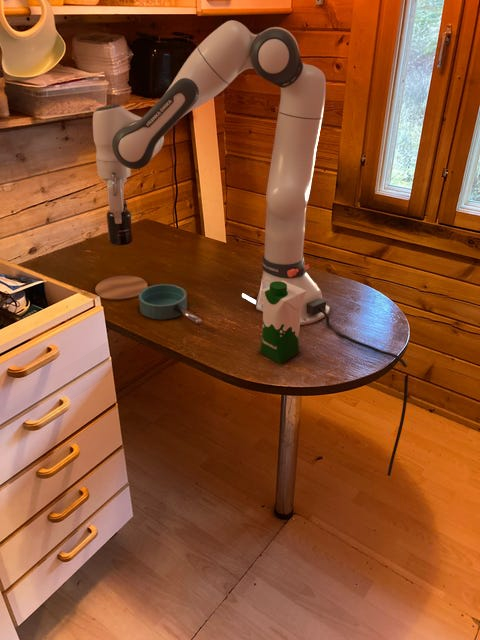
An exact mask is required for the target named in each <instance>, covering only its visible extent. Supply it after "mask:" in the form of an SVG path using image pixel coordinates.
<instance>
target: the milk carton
mask: <svg viewBox="0 0 480 640" xmlns="http://www.w3.org/2000/svg"><path fill="white" fill-rule="evenodd" d="M261 293H262V299H263V312H262V329H261V341H260V349H259V350H260V351H259V353H260V354H262V355H263V356H265V357H267V358H269V359H271V360H272V361H274V362H275V363H278V364H280V365H282V364H283V363H285V362H286V361H288V360H290V359H291V358H294V357H295V356H297V355H299V354H300V339H299V338H300V326H301V325H300V317H301V307H302V304H303V300H304V297H305V293H306V290H303V289H301V288H299V287H296V286H294V285H292V284H290V283H287V282H285V281H281V282H280V281H275V282H272V283H271V284H270V286H269V287H266V288H264V289H262V290H261Z"/></svg>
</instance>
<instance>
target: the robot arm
mask: <svg viewBox="0 0 480 640" xmlns="http://www.w3.org/2000/svg"><path fill="white" fill-rule="evenodd" d="M250 69H252V70H254V72H255V73H256V74H257V75H258V76H259V77H260V78H262V79H263V80H265V81H266V82H269V83H271V84H273V85H275V86H277V87H279V89H280V100H279V107H278V113H277V120H276V127H275V133H274V140H273V147H272V152H271V159H270V166H269V167H270V168H269V173H268V180H267V185H266V192H265V201H266V212H265V228H264V229H265V230H264V248H263V249H264V252H263V255H262V260H261V268H262V275H261V281H260V285H259V291H258V294H257V296H256V299H254V298H252V297H250V296H249V295H247V294H245V293H242V294H241V297H242V298H243V299H246V300H247V301H248V302H250V303H252V304H254V305H255V306H256V307H255V309H256V310H258V311H260V312H262V313H263V299H262V293H261V290H262V289H264V288H266V287H269V286H270V284H271V283H272V282H275V281H280V282H281V281H285V282H287V283H290V284H292V285H294V286H296V287H299V288H301V289H303V290H306V293H305V297H304V300H303V304H302V307H301V317H300V326H304V325H308V324H313V323H316V322H318V321H320V320H322V319H323V318H325V324H326V325H327V327H328V328H329V329H331V330H332V331H333V332H334V333H335V334H336V335H337V336H339V337H341V338H344V339H345V340H347V341H349V342H351V343H353V344H356V345H359V346H361V347H364V348H366V349H368V350H372V351H374V352H376V353H379V354H382V355H384V356H387V357H388V356H389V357H391V358H395V359H396V360H398V362H400V363H401V365H402V367H404V368H408V365H407V363H406V362H405V361H404V359H402V357H400V356H399V355H397V354H395V353H393V352H389V351H385V350H382V349H380V348H377V347H374V346H372V345H370V344H367V343H364V342H362V341H358V340H356V339H354V338H352V337H350V336H348V335H347V334H344V333H341V332H340V331H338V330H336V329H335V328H334V327H333V326H332V325H331V323H330V317H329V315H328V314H329V313H330V307H329V305H327V301H326V300H325V299H323V293H322V290H321V289H320V288H319V286H318V284H317V282H315V281H314V279H312V278H311V276H310V274H309V273H308V272H307V269H309V268H310V263H308V264H306V261H305V258H304V246H305V234H306V233H305V232H306V216H307V215H306V213H307V205H308V203H309V198H310V195H311V194H310V193H311V187H312V180H313V175H314V169H315V168H314V167H315V162H316V153H317V150H318V149H317V147H318V143H319V137H320V132H321V127H322V122H323V117H324V112H325V111H324V110H325V103H326V91H327V90H326V88H327V87H326V86H327V84H326V83H327V82H326V76H325V74H324V72H323V70H321V69H320V68H319V67H317V66H315V65H312V64H307V63H305V62H303V61H302V57H301V54H300V49H299V45H298V41H297V39H296V37H295V36H294V35H293V33H291V32H290V31H289V30H288V29H286V28H283V27H280V26H279V27H278V26H273V27H269V28H266V29H265V30H263V31H260V32H256V33H253V32H251V30H249V28H248V27H247V26H246V25H244V24H243V23H241V22H240V21H237V20H232V19H231V20H228V21H225V22H224V23H222V24H221V25H220V26H218V27H217V28H216V29H215V30H213V32H211V33H210V34H209V35H208V36H207V37H206V38H204V39H203V41H201V42H200V43H199V45H197V47H195V49H194V50H193V51H192V52H191V53H190V55H189V56H188V57H187V59H186V60H185V61H184V63H183V64H182V67H180V69H179V71H178V73H177V74H176V76H175V77H174V79H173V81H172V82H171V84H170V85H169V87H168V89H167V90H166V91H165V93H164V94H163V95H162V96H161V98H160V99H158V101H156V103H155V104H154V105H153V106H152V107H151V108H150V109H149V110H148V111H147V112H146V113H145V114H144V115H143V116H139V115H137V114H135V113H132V112H131V111H129V110H128V109H127V108H125V107H124V106H123V105H122V104H118V103H117V104H116V103H115V104H114V103H113V104H108V105H104V106H100V107H97V109H95V110H94V111H93V115H92V135H93V136H92V137H93V142H94V145H95V149H96V153H95V154H96V155H95V163H96V170H97V172H96V173H97V176H98V178H101V179H102V182H103V183H104V184H107V185H106V189H107V201H108V211H109V210H110V212H111V213H113V214H114V217H115V223H116V224H121V223H122V219H121V212H123V204H124V200H125V199H124V195H125V183H127V182H128V178H129V177H131V175H132V171H131V170H139V169H143V168H145V167H146V166H147V165H148V164H149V163H150V161H151V160H152V159H153V158H154V157H155V156H156V155H157V154H158V153H159V152H160V151H161V149H163V146H164V143H165V135H166V134H167V133H168V132H169V131H170V129H172V128H173V127H174V126H175V125H176V124H177V123H178V121H180V119H182V118H183V117H184V116H185V115H187V114H188V113H190V112H191V111H193V110H195V109H197V108H199V107H201V106H202V105H204V104H206V103H207V102H209V101H210V100H212V99H213V98H215V97H216V96H219V94H220V93H221V92H223V91H224V90H226V88H227V87H228V86H229V85H230V84H231V83H232V82H233V81H234V80H235V79H236V78H237V77H238V76H239V75H240V74H241V73H243V72H245V71H246V70H250ZM403 384H404V385H403V387H404V388H403V402H402V410H401V415H400V421H399V425H398V429H397V434H396V438H395V442H394V445H393V449H392V453H391V456H390V461H389V465H388V469H387V476H388V477H391V474H392V470H393V465H394V460H395V457H396V452H397V449H398V446H399V443H400V438H401V434H402V430H403V426H404V421H405V416H406V411H407V402H408V392H409V391H408V386H409V373H408V374H406V375H405V376H404V383H403Z"/></svg>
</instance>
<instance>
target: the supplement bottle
mask: <svg viewBox="0 0 480 640" xmlns="http://www.w3.org/2000/svg"><path fill="white" fill-rule="evenodd" d="M121 219H122V223H121V224H116V223H115V217H114V214H113V213H111V212H110V210H109V209H108V211H107V212H106V223H107V233H108V242H109V244H111V245H113V246H127V245H130V244H131V243H132V242H134V241H133V239H134V238H133V237H134V235H133V224H132V223H133V222H132V213H131V212H130V210H129V209H128V205H127V200H125V199H124V204H123V212H121Z"/></svg>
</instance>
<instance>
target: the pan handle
mask: <svg viewBox="0 0 480 640" xmlns="http://www.w3.org/2000/svg"><path fill="white" fill-rule="evenodd" d="M174 311H176V312H177V313H179V314H180V316H182V317H183V318H185V319H186V320H188V321H189V322H190V323H192V324H194V325H195V326H196V327H199V326H201V325H202V324H203V320H202V319H201V318H200V317H198V316H196V314H193V313H192V312H191V311H189V310H188V309H184V308H183V307H181V306H180V305H178V304H177V305H175V306H174Z"/></svg>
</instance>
